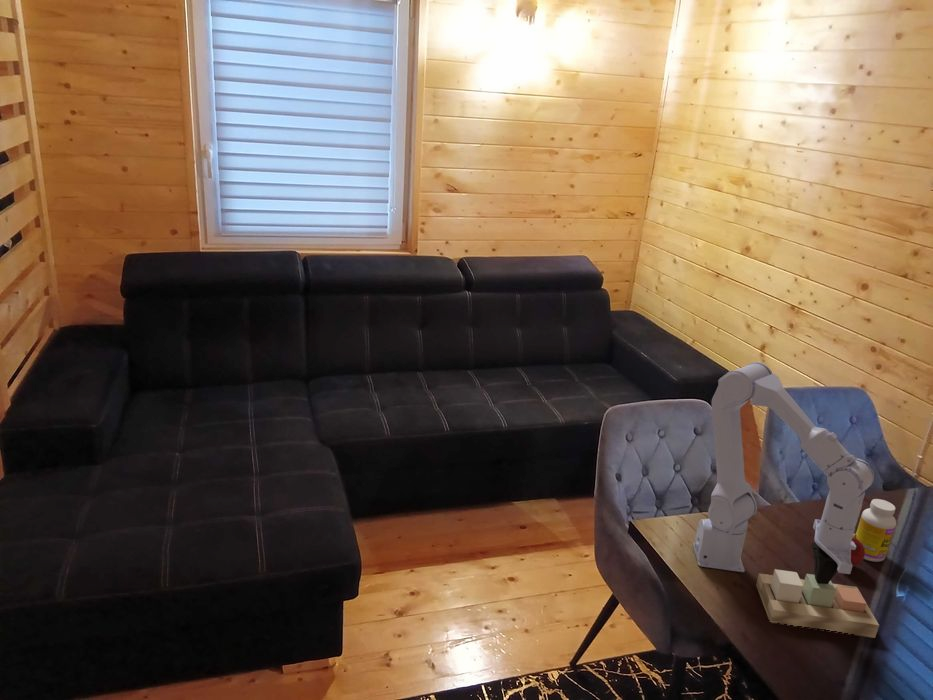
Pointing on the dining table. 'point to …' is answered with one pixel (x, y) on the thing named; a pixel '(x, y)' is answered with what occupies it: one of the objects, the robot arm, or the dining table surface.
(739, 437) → the robot arm
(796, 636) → the dining table surface
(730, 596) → the dining table surface
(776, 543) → the dining table surface
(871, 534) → the supplement bottle
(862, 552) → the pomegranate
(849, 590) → the salmon pink cube
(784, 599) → the cream key
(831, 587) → the sage key
